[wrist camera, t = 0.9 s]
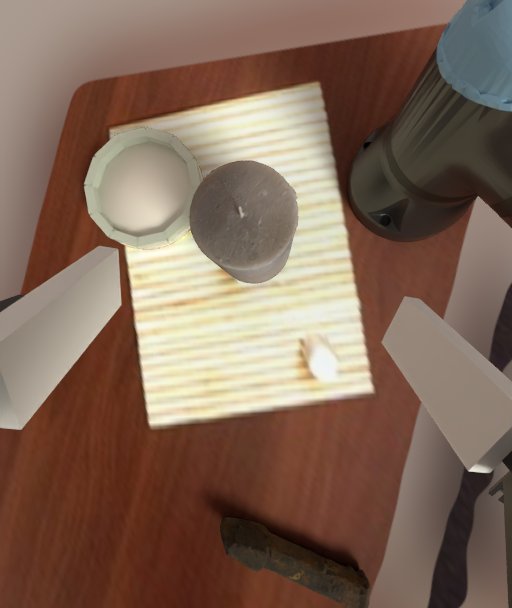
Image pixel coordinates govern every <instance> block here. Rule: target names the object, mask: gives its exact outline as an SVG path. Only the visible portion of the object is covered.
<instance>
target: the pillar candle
mask: <svg viewBox="0 0 512 608" xmlns="http://www.w3.org/2000/svg"><path fill="white" fill-rule="evenodd" d="M296 198H298V197H296V192H295V191H294V189H293V188H292V187H290V186H289V184H288V183H287V182H286V181H285V179H284V178H283V177H282V176H281V175H280V174H279V173H278V172H276V171H275V170H274V169H273V168H271V167H269V166H266V165H264V164H261V163H259V162H255V161H236V162H232V163H229V164H226V165H223V166H221V167H219V168H217V169H216V170H213V171H212V172H211V173H210V174H209V175H208V176H207V177H206V178H205V179H204V180H203V181H202V182H201V183H200V185H199V186H198V188H197V190H196V192H195V194H194V196H193V199H192V203H191V207H190V228H191V232H192V235H193V237H194V240H195V241H196V243H197V245H198V247H199V248H200V249H201V251H202V252H203V253H204V254H205V255H206V256H207V257H208V258H209V259H210V260H212V261H213V262H214V263H216V264H217V265H218V266H220V267H221V268H222V269H223V270H225V271H226V272H227V273H229V274H230V275H231V276H233V277H234V278H236V279H238V280H239V281H242V282H246V283H262V282H265V281H268V280H270V279H271V278H273V277H275V276H276V275H277V274H278V273H279V272H280V271H281V270H282V269H283V267H284V265H285V264H286V261H287V259H288V256H289V253H290V249H291V245H292V241H293V237H294V234H295V231H296V227H297V225H298V206H297V202H296Z"/></svg>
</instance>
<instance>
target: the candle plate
mask: <svg viewBox="0 0 512 608" xmlns="http://www.w3.org/2000/svg"><path fill="white" fill-rule="evenodd" d="M95 156H96V157H97V158H96V157H93V159H92V162H91V165H90V168H89V171H88V174H87V177H86V180H85V183H84V184H85V185H86V186H84V189H85V195H86V200H87V206H88V211H89V214H90V216H91V218H92V219H93V220H94V221H95V222H96V223H97V225H98V226H99V227H100V228H101V229H102V230H103V232H104V233H105V234H106V235H107V236H108V237H110V238H111V239H113V240H116V241H118V242H119V243H121V244H124V245H126V246H129V247H132V248H136V249H143V250H152V249H158V248H162V247H165V246H168V245H170V244H172V243H174V242H176V241H177V240H179V239H180V238H182V237H183V236H184V235H185V234H186V233H187V232H188V231H189V230H190V229H191V228H190V207H191V203H192V199H193V196H194V194H195V192H196V190H197V188H198V186H199V185H200V183H201V182H202V181H203V176H202V172H201V170H200V168H199V165H198V163H197V161H196V159H195V157H194V156H193V155H192V154H191V153H190V151H189V150H188V149H187V148H186V147H185V146H184V145H183V144H182V143H181V142H180V141H179V139H178V138H177V137H176V136H174V135H173V134H169V133H166V132H162V131H159V130H155V129H152V128H148V127H146V128H145V127H143V128H139V129H135V130H131V131H127V132H123V133H119V134H117V136H116V135H115V136H114V137H113V138H112V139H111V140H110V141H108V142H107V143H106V144H105V145H104V146H103V147H102V148H101V149H100V150H99V151H98V152H97V153H96V154H95Z"/></svg>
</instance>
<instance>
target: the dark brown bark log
mask: <svg viewBox="0 0 512 608" xmlns="http://www.w3.org/2000/svg"><path fill="white" fill-rule="evenodd" d="M220 532H221V537H222V541H223V545H224V548H225V550H226V554H227V555H229V556H230V557H232V558H233V559H235V560H237V561H239V562H241V563H242V564H243V565H245V566H246V567H248V568H249V569H251V570H254V571H260V570H262V569H263V568H266V569H269V570H271V571H274V572H276V573H278V574H279V575H281V576H283V577H285V578H287V579H289V580H291V581H294V582H296V583H298V584H299V585H302V586H304V587H306V588H308V589H310V590H312V591H314V592H317V593H319V594H320V595H322V596H325V597H327V598H329V599H331V600H333V601H336V602H338V603H340V604H342V605H344V606H345V607H347V608H368V606H369V591H370V585H369V581H368V579H367V578H366V576H365V573H364V572H363V570H358V571H355V570H354V569H353V568H352V567H351V566H350V565H348V566H343V565H340V564H338V563H336V562H334V561H332V560H329V559H326V558H324V557H321V556H320V555H318V554H315V553H313V551H312V550H310V549H309V550H307V549H305V548H303V547H301V546H299V545H296V544H294V543H291V542H289V541H287V540H285V539H283V538H281V537H278V536H276V535H274V534H272V533H270V532H269V531H268V530H267V528H266V527H265V526H264V525H263V524H260V523H257V522H254V521H250V520H245V519H239V518H231V517H224V518H222V521H221V525H220Z"/></svg>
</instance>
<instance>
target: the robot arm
mask: <svg viewBox="0 0 512 608" xmlns="http://www.w3.org/2000/svg"><path fill="white" fill-rule="evenodd" d="M347 194H348V199H349V202H350V205H351V207H352V210H353V212H354V213H355V215H356V217H357V218H358V219H359V220H360V222H361V223H362V224H363V225H364V226H365V227H366V228H368V229H369V230H370V231H372V232H373V233H375V234H377V235H379V236H381V237H383V238H386V239H389V240H393V241H400V242H412V241H419V240H423V239H426V238H429V237H431V236H433V235H436V234H438V233H440V232H442V231H444V230H445V229H447V228H449V227H450V226H452V225H453V224H454V223H455V222H457V221H458V220H459V219H460V218H461V217H462V216H463V215H464V214H465V213H466V211H467V210H468V208H469V207H470V205H471V204H472V203H473V202H474V200H475V199H476V198H477V197H478V196H479V197H480V198H481V199H482V200H483V201H484V202H485V203H487V204H488V205H489V206H490V207H491V208H492V209H493V210H494V211H495V212H496V213H497V214H498V215H499V216H500V217H501V218H502V219H503V220H504V221H505V222H506V223H507V224H508V225H509V226H510V227H511V228H512V0H467V1H466V2H465V4H464V5H463V7H462V8H461V9H460V10H459V11H458V12H457V13H456V14H455V15H454V16H453V18H452V19H451V20H450V22H449V23H448V25H447V27H446V29H445V30H444V32H443V33H442V36H441V38H440V40H439V43H438V45H437V47H436V49H435V51H434V52H433V54H432V56H431V57H430V59H429V61H428V62H427V64H426V66H425V67H424V69H423V71H422V72H421V74H420V76H419V77H418V79H417V81H416V82H415V84H414V86H413V87H412V89H411V91H410V92H409V94H408V96H407V97H406V99H405V101H404V102H403V104H402V106H401V108H400V109H399V111H398V113H397V114H396V115H395V116H394V117H393V118H391V119H390V120H389V121H387V122H386V123H384V124H383V125H382V126H380V127H379V128H378V129H376V130H375V131H374V132H373V133H372V134H371V135H370V136H369V137H368V138H367V139H366V140H365V141H364V142H363V144H362V145H361V147H360V148H359V150H358V152H357V153H356V155H355V157H354V159H353V161H352V164H351V166H350V169H349V172H348V178H347ZM120 306H121V290H120V273H119V255H118V249H115V248H109V247H103V246H98V247H97V248H95V249H94V250H92V251H91V252H89V253H88V254H86V255H85V256H83V257H82V258H80V259H79V260H77V261H76V262H74V263H73V264H72V265H70V266H69V267H67V268H66V269H64V270H63V271H61V272H60V273H58V274H57V275H55V276H54V277H52V278H51V279H49V280H48V281H46V282H45V283H43V284H42V285H40V286H39V287H37V288H36V289H34V290H33V291H31V292H30V293H28V294H27V295H17V296H14V297H11V298H8V299H5V300H3V301H0V428H9V429H19V430H21V429H22V428H23V427H24V426H25V424H26V423H27V422H28V421H29V419H30V418H31V417H32V416H33V414H34V413H35V412H36V411H37V409H38V408H39V407H40V406H41V404H42V403H43V402H44V401H45V399H46V398H47V397H48V396H49V394H50V393H51V392H52V391H53V389H54V388H55V387H56V386H57V384H58V383H59V382H60V381H61V379H62V378H63V377H64V376H65V374H66V373H67V372H68V371H69V369H70V368H71V367H72V366H73V364H74V363H75V362H76V361H77V359H78V358H79V357H80V356H81V354H82V353H83V352H84V351H85V349H86V348H87V347H88V346H89V344H90V343H91V342H92V341H93V339H94V338H95V337H96V336H97V334H98V333H99V332H100V331H101V329H102V328H103V327H104V326H105V324H106V323H107V322H108V321H109V319H110V318H111V317H112V316H113V314H114V313H115V312H116V311H117V309H118V308H119V307H120ZM382 344H383V345H384V347H385V348H386V350H387V351H388V353H389V354H390V356H391V357H392V359H393V360H394V362H395V363H396V365H397V366H398V368H399V369H400V371H401V372H402V374H403V375H404V377H405V378H406V380H407V381H408V383H409V384H410V385H411V387H412V388H413V390H414V391H415V393H416V394H417V396H418V397H419V399H420V400H421V402H422V403H423V405H424V406H425V407H426V409H427V411H428V412H429V414H430V415H431V416H432V418H433V420H434V421H435V423H436V424H437V425H438V427H439V428H440V430H441V431H442V433H443V434H444V436H445V437H446V439H447V440H448V442H449V443H450V445H451V446H452V448H453V449H454V451H455V452H456V454H457V455H458V457H459V458H460V460H461V461H462V463H463V464H464V466H465V467H466V469H467V470H468V471H472V472H483V473H491V472H492V471H493V470H494V469H495V468H496V467H497V466H498V465H499V464H500V463H501V462H502V461H503V463H504V464H505V465H506V466H507V468H508V469H509V470H510V471H509V472H508V473H507V474H506V475H505V476H504V477H503V478H501V479H500V480H499V481H498V482H497V483H496V484H495V485H494V486H493V487H492V488H491V489H490V490H489V493H488V494H490V495H492V496H493V495H494V494H495V493H496V492H498V491H501V492H503V493H504V495H503V496H502V497H501V498H499V501H501V502H502V503H504V514H505V537H506V560H507V583H508V604H509V608H512V381H510V380H509V379H508V378H507V377H506V376H505V375H504V374H503V373H501V372H500V371H499V370H498V369H497V368H496V367H495V366H494V365H493V364H491V363H490V362H489V361H488V360H487V359H486V358H485V357H484V356H483V355H481V354H480V353H479V352H478V351H477V350H476V349H475V348H474V347H473V346H471V345H470V344H469V343H468V342H467V341H466V340H465V339H463V338H462V337H461V336H460V335H459V334H458V333H457V332H456V331H455V330H454V329H452V328H451V327H450V326H449V325H448V324H447V323H446V322H445V321H444V320H442V319H441V318H440V317H439V316H438V315H437V314H436V313H435V312H434V311H432V310H431V309H430V308H429V307H428V306H427V305H426V304H425V303H424V302H422V301H421V300H420V299H417V298H411V297H404V299H403V301H402V303H401V305H400V307H399V308H398V310H397V312H396V314H395V316H394V318H393V320H392V322H391V324H390V326H389V328H388V330H387V332H386V334H385V336H384V338H383V340H382Z"/></svg>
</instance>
